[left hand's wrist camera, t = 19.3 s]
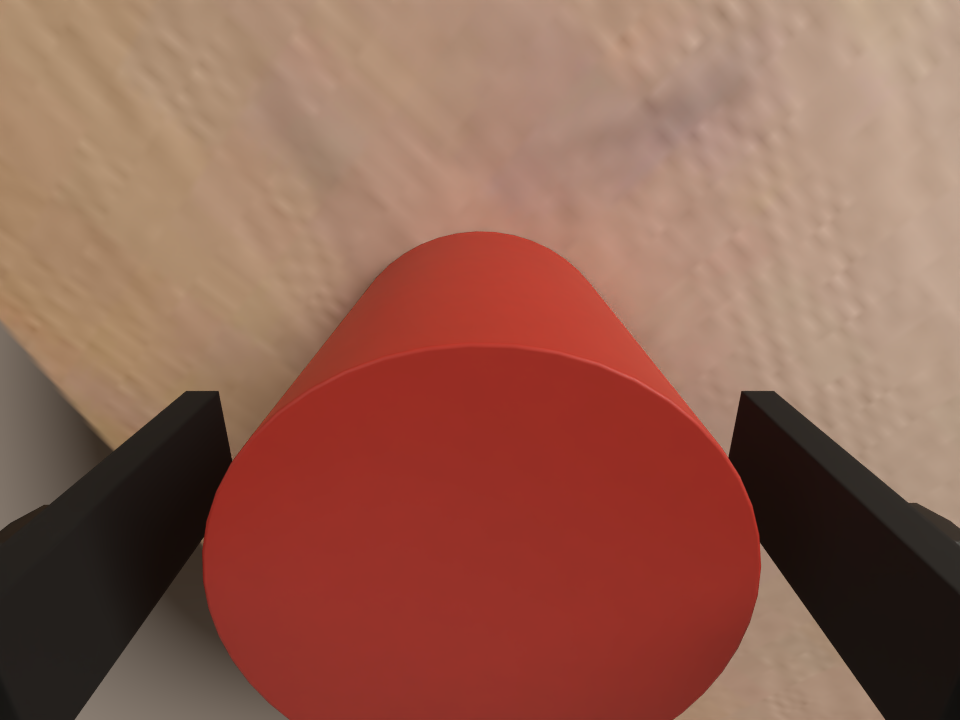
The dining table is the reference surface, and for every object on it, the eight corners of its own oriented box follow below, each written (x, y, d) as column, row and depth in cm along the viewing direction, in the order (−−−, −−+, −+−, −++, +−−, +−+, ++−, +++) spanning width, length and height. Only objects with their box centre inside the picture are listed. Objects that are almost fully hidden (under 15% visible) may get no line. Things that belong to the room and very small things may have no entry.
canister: (661, 290, 17) (882, 464, 7) (550, 508, 19) (611, 822, 10) (392, 186, 15) (269, 243, 6) (317, 434, 18) (160, 714, 9)
